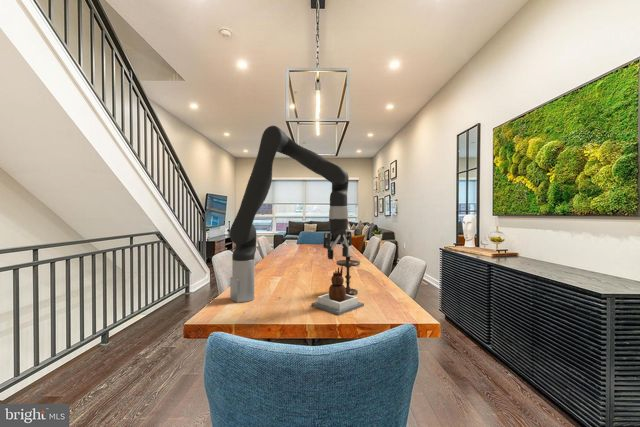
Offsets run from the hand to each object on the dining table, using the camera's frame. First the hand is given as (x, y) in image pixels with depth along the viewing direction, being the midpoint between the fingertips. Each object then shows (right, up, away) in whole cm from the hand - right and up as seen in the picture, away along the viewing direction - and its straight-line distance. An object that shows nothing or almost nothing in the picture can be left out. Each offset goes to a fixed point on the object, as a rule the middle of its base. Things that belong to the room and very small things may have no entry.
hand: (337, 257), depth 116 cm
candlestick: (+6, -19, +19) cm, 27 cm away
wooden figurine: (0, -19, 0) cm, 18 cm away
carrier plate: (0, -19, 0) cm, 19 cm away
